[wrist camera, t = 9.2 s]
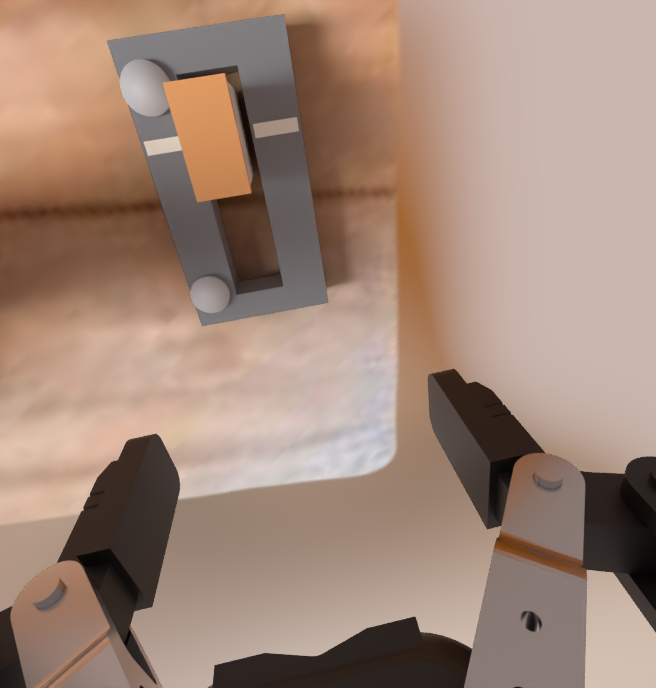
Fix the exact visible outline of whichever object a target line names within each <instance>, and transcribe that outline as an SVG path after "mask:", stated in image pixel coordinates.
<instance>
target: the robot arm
mask: <svg viewBox="0 0 656 688" xmlns="http://www.w3.org/2000/svg"><path fill="white" fill-rule="evenodd" d="M428 391H429V392H428V393H429V412H430V420H431V424H432V427H433V430H434V433H435V435H436V437H437V439H438V440H439V442H440V444H441V446H442V448H443V450H444V452H445V453H446V455H447V457H448V459H449V461H450V463H451V464H452V466H453V468H454V470H455V472H456V473H457V475H458V477H459V479H460V481H461V483H462V484H463V486H464V488H465V490H466V492H467V494H468V495H469V497H470V499H471V501H472V503H473V505H474V506H475V508H476V510H477V512H478V514H479V515H480V517H481V519H482V521H483V523H484V525H485V526H486V528H487V529H490V528H494V527H498V526H501V530H500V535H499V538H497V539H496V542H495V546H494V550H493V555H492V560H491V564H490V569H489V574H488V579H487V583H486V588H485V593H484V597H483V601H482V607H481V611H480V615H479V621H478V625H477V629H476V634H475V639H474V643H473V648H472V649H471V648H470V647H468V646H466V645H464V644H462V643H460V642H458V641H456V640H453V639H451V638H448V637H445V636H442V635H437V634H432V633H423V632H420V630H419V627H418V624H417V621H416V617H411V618H407V619H404V620H399V621H395V622H391V623H387V624H383V625H379V626H375V627H370V628H366V629H365V630H363V631H362V632H360V633H358V634H356V635H354V636H353V637H351V638H349V639H348V640H346V641H344V642H342V643H341V644H339V645H337V646H335V647H334V648H332V649H330V650H328V651H327V652H325V653H323V654H321V655H319V656H312V657H311V656H298V655H284V654H269V653H263V654H260V655H255V656H251V657H247V658H243V659H239V660H235V661H230V662H226V663H222V664H218V665H215V667H214V668H215V669H214V678H213V685H211V686H209V687H208V688H584V687H585V646H586V643H585V642H586V602H587V599H586V598H587V571H586V570H595V571H605V572H613V573H614V574H615V575H616V577H617V578H618V580H619V581H620V582H621V584H622V585H623V587H624V588H625V590H626V591H627V592H628V594H629V595H630V597H631V598H632V599H633V601H634V602H635V604H636V605H637V607H638V608H639V609H640V611H641V612H642V614H643V615H644V617H645V618H646V619H647V621H648V622H649V624H650V625H651V626H652V628H653V629H654V631H655V632H656V457H640V458H637V459H634V460H632V461H631V462H630V463H629V464H628V465H627V467H626V471H625V474H616V473H592V472H583V471H579V470H578V469H577V468H576V467H575V466H574V465H573V464H571V463H570V462H569V461H567V460H565V459H563V458H561V457H558V456H555V455H552V454H547V453H545V452H544V451H543V450H542V449H541V447H540V446H539V445H538V444H537V443H536V441H535V440H534V439H533V438H532V437H531V436H530V434H529V433H528V432H527V431H526V430H525V429H524V427H523V426H522V425H521V424H520V423H519V421H518V420H517V419H516V418H515V417H514V416H513V415H511V413H510V411H509V410H508V409H507V407H506V406H505V405H503V404H502V402H501V400H500V399H499V398H498V397H497V396H496V395H495V393H494V392H493V391H492V390H490V389H489V388H487V387H485V386H483V385H481V384H480V383H478V382H472V383H468V384H467V383H466V382H465V381H464V380H463V378H462V377H461V376H460V374H458V372H457V371H456V370H455V369H451V370H446V371H442V372H437V373H433V374H429V376H428ZM179 491H180V481H179V475H178V472H177V470H176V467H175V465H174V463H173V462H172V460H171V458H170V456H169V454H168V452H167V450H166V448H165V446H164V444H163V442H162V440H161V438H160V437H159V435H157V434H152V435H148V436H143V437H139V438H134V439H130V440H128V441H127V442H126V444H125V446H124V448H123V450H122V453H121V455H120V457H119V459H118V460H117V461H113V462H111V463H110V464H109V465H108V467H107V468H106V469H105V470H104V471H103V472H102V473H101V474H100V475H99V477H98V478H97V480H96V482H95V484H94V486H93V488H92V490H91V493H90V497H88V499H87V501H86V503H85V505H84V507H83V508H84V511H81V513H80V516H79V518H78V520H77V522H76V524H75V526H74V528H73V530H72V532H71V534H70V537H69V539H68V541H67V543H66V545H65V547H64V549H63V551H62V553H61V555H60V557H59V560H58V562H57V563H56V564H54V565H52V566H50V567H48V568H46V569H45V570H43V571H42V572H40V573H39V574H38V575H36V576H35V577H34V578H33V579H32V580H31V581H30V582H29V583H28V584H27V585H26V586H25V587H24V588H23V589H22V591H21V592H20V593H19V595H18V597H17V598H16V600H15V602H14V604H13V606H11V607H9V608H7V609H5V610H3V611H1V612H0V688H163V687H162V685H161V683H160V681H159V679H158V677H157V675H156V673H155V671H154V669H153V667H152V665H151V663H150V661H149V659H148V657H147V655H146V654H145V651H144V650H143V648H142V646H141V644H140V642H139V640H138V638H137V636H136V634H135V632H134V630H133V629H132V627H131V626H130V624H131V621H132V617H133V613H134V611H137V610H141V609H145V608H149V607H152V606H153V602H154V598H155V593H156V589H157V585H158V581H159V576H160V572H161V568H162V563H163V559H164V555H165V551H166V547H167V542H168V538H169V534H170V529H171V525H172V521H173V517H174V513H175V508H176V504H177V500H178V496H179Z"/></svg>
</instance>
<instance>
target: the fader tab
mask: <svg viewBox="0 0 656 688" xmlns="http://www.w3.org/2000/svg"><path fill="white" fill-rule="evenodd" d="M163 86H164V90H165V93H166V97H167V100H168V103H169V107H170V110H171V114H172V117H173V121H174V124H175V128H176V131H177V134H178V138H179V141H180V145H181V148H182V152H183V155H184V159H185V162H186V165H187V169H188V172H189V176H190V179H191V183H192V186H193V190H194V193H195V196H196V200H197V202H202V201H208V200H214V199H220V198H226V197H232V196H238V195H243V194H249V193H251V192H252V190H251V182H252V178H253V174H254V171H253V166H252V162H251V157H250V152H249V148H248V143H247V138H246V134H245V129H244V125H243V120H242V115H241V111H240V106H239V101H238V97H237V92H236V90H235V89H234V88H233V87H232V86H231V85H230V84H229V83H228V81H227V77H226V74H225V73H222V74H215V75H209V76H202V77H196V78H189V79H183V80H177V81H170V82H164V83H163Z"/></svg>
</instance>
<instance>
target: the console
mask: <svg viewBox="0 0 656 688" xmlns="http://www.w3.org/2000/svg"><path fill="white" fill-rule="evenodd" d="M107 43H108V46H109V49H110V52H111V55H112V58H113V61H114V64H115V67H116V70H117V73H118V76H119V79H120V89H121V92H122V95H123V97H124V99H125V101H126V102H127V104H128V106H129V109H130V112H131V115H132V118H133V121H134V124H135V127H136V130H137V133H138V136H139V139H140V142H141V145H142V148H143V151H144V154H145V157H146V160H147V163H148V166H149V169H150V172H151V175H152V178H153V181H154V184H155V187H156V190H157V193H158V196H159V199H160V202H161V205H162V208H163V211H164V214H165V217H166V220H167V223H168V226H169V229H170V232H171V235H172V238H173V241H174V244H175V247H176V250H177V253H178V256H179V259H180V262H181V265H182V268H183V271H184V274H185V277H186V280H187V283H188V286H189V289H190V297H191V300H192V302H193V304H194V305H195V307H196V310H197V313H198V316H199V319H200V322H201V325H202V326H206V325H211V324H217V323H222V322H227V321H233V320H238V319H243V318H249V317H254V316H260V315H265V314H270V313H276V312H281V311H286V310H292V309H297V308H303V307H308V306H313V305H319V304H324V303H328V297H327V291H326V284H325V277H324V271H323V264H322V258H321V251H320V245H319V238H318V232H317V225H316V219H315V212H314V206H313V199H312V192H311V186H310V179H309V173H308V166H307V160H306V153H305V147H304V140H303V134H302V127H301V121H300V114H299V108H298V101H297V94H296V88H295V81H294V75H293V68H292V62H291V55H290V49H289V42H288V36H287V29H286V23H285V16H284V14H282V15H275V16H268V17H262V18H255V19H248V20H242V21H235V22H228V23H221V24H215V25H208V26H201V27H195V28H188V29H181V30H174V31H168V32H161V33H154V34H148V35H141V36H134V37H127V38H121V39H114V40H107ZM231 72H239V76H240V81H241V86H242V91H243V95H244V100H245V105H246V110H247V115H248V119H249V124H250V129H251V134H252V139H253V143H254V148H255V153H256V158H257V162H258V167H259V172H260V177H261V182H262V186H263V191H264V196H265V201H266V205H267V210H268V215H269V220H270V225H271V229H272V234H273V239H274V244H275V249H276V253H277V258H278V263H279V268H280V272H281V274H278V275H272V276H267V277H261V278H256V279H250V280H245V281H239V280H238V277H237V273H236V269H235V265H234V262H233V258H232V254H231V250H230V247H229V243H228V239H227V235H226V232H225V228H224V224H223V220H222V217H221V213H220V209H219V205H218V202H217V199H214V200H208V201H202V202H197V200H196V196H195V193H194V190H193V186H192V183H191V179H190V176H189V172H188V169H187V165H186V162H185V159H184V155H183V152H182V148H181V145H180V141H179V138H178V134H177V131H176V128H175V124H174V121H173V117H172V114H171V110H170V107H169V103H168V100H167V97H166V93H165V90H164V86H163V83H164V82H170V81H177V80H183V79H189V78H196V77H202V76H209V75H215V74H222V73H231Z"/></svg>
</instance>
